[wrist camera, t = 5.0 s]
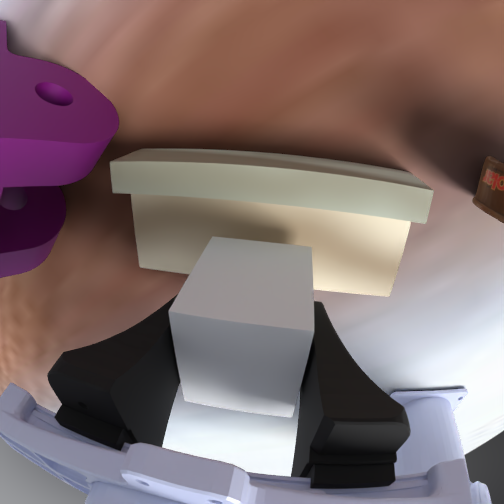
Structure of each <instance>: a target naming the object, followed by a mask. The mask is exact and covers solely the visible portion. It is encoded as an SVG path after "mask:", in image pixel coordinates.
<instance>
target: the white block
mask: <svg viewBox="0 0 504 504" xmlns="http://www.w3.org/2000/svg"><path fill="white" fill-rule="evenodd" d="M168 312H169V318H170V325H171V331H172V337H173V343H174V349H175V355H176V360H177V366H178V371H179V376H180V381H181V386H182V391H183V396H184V401H188V402H192V403H197V404H202V405H207V406H212V407H218V408H223V409H229V410H235V411H242V412H248V413H256V414H263V415H272V416H281V417H291V418H292V416H293V412H294V409H295V405H296V401H297V398H298V394H299V391H300V387H301V383H302V379H303V375H304V372H305V368H306V364H307V360H308V356H309V352H310V347H311V343H312V339H313V335H314V290H313V264H312V247H308V246H299V245H290V244H281V243H272V242H262V241H253V240H243V239H234V238H224V237H214V236H212V238H211V240H210V241H209V243H208V245H207V246H206V248H205V249H204V251H203V253H202V254H201V256H200V258H199V260H198V261H197V263H196V265H195V266H194V268H193V270H192V271H191V273H190V275H189V276H188V278H187V280H186V282H185V283H184V285H183V287H182V288H181V290H180V292H179V294H178V295H177V297H176V299H175V301H174V302H173V304H172V306H171V308H170V309H169V311H168Z"/></svg>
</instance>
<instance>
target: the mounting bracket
mask: <svg viewBox="0 0 504 504" xmlns="http://www.w3.org/2000/svg"><path fill="white" fill-rule="evenodd" d="M118 126H119V118H118V114H117V112H116V109H115V107H114V106H113V104H112V103H111V102H110V101H109V100H108V99H107V98H106V97H105V96H104V95H103V94H102V93H101V92H99V91H98V90H97V89H96V88H95V87H94V86H93V85H92V84H91V83H90V82H88V81H87V80H86V79H85V78H84V77H82V76H81V75H79V74H77V73H75V72H73V71H71V70H69V69H67V68H65V67H62V66H60V65H57V64H54V63H51V62H47V61H43V60H39V59H34V58H29V57H24V56H19V55H15V54H13V53H11V52H9V51H8V49H7V31H6V21H3V20H0V278H2V277H6V276H11V275H16V274H21V273H24V272H27V271H30V270H32V269H34V268H36V267H37V266H38V265H40V264H41V263H42V262H43V261H44V260H45V259H46V258H47V256H48V255H49V253H50V252H51V249H52V247H53V245H54V243H55V241H56V238H57V236H58V234H59V232H60V230H61V228H62V226H63V223H64V221H65V216H66V203H65V199H64V195H63V193H62V191H61V189H60V188H59V187H58V185H66V184H70V183H74V182H76V181H79V180H81V179H82V178H84V177H85V176H87V175H88V174H89V173H90V172H91V171H92V169H93V168H94V166H95V165H96V163H97V161H98V160H99V158H100V156H101V155H102V153H103V152H104V150H105V148H106V147H107V145H108V144H109V142H110V141H111V139H112V137H113V136H114V134H115V133H116V131H117V129H118Z"/></svg>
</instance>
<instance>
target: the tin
mask: <svg viewBox="0 0 504 504" xmlns="http://www.w3.org/2000/svg"><path fill="white" fill-rule="evenodd" d="M473 203H474V204H475V205H476V206H477V207H478V208H480V209H481V210H483V211H484V212H486V213H487V214H489V215H491V216H492V217H494V218H496V219H498V220H499V221H500V222H502V223H504V163H502V162H500V161H498V160H497V159H495V158H494V157H492V156H488V157H486V159H485V161H484V164H483V168H482V172H481V176H480V180H479V184H478V188H477V192H476V196H475V197H474V198H473Z"/></svg>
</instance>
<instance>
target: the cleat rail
mask: <svg viewBox="0 0 504 504" xmlns="http://www.w3.org/2000/svg"><path fill="white" fill-rule="evenodd" d="M110 171H111V182H112V192H113V193H125V194H131V201H132V211H133V220H134V229H135V237H136V244H137V252H138V259H139V265H140V267H141V268H148V269H155V270H162V271H169V272H176V273H183V274H190V273H191V271H192V270H193V268H194V266H195V265H196V263H197V261H198V260H199V258H200V256H201V254H202V253H203V251H204V249H205V248H206V246H207V245H208V243H209V241H210V240H211V238H212V236H214V237H224V238H234V239H243V240H253V241H262V242H272V243H281V244H290V245H299V246H308V247H312V264H313V289H315V290H324V291H334V292H344V293H354V294H365V295H375V296H387V297H389V296H390V293H391V290H392V287H393V284H394V281H395V278H396V274H397V271H398V268H399V264H400V261H401V258H402V254H403V250H404V247H405V243H406V239H407V236H408V232H409V228H410V224H411V222H417V223H424V224H426V221H427V218H428V214H429V209H430V205H431V201H432V197H433V192H434V190H432V189H431V188H430V187H429V186H427V185H426V184H425V183H424V182H422V181H421V180H420V179H418V178H417V177H416V176H414V175H413V174H412V173H410V172H406V171H401V170H396V169H390V168H384V167H379V166H373V165H366V164H360V163H353V162H346V161H339V160H332V159H324V158H315V157H307V156H297V155H287V154H276V153H264V152H250V151H234V150H212V149H140V150H137V151H135V152H132V153H130V154H127V155H125V156H122V157H120V158H117V159H115V160H113V161H110Z"/></svg>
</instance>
